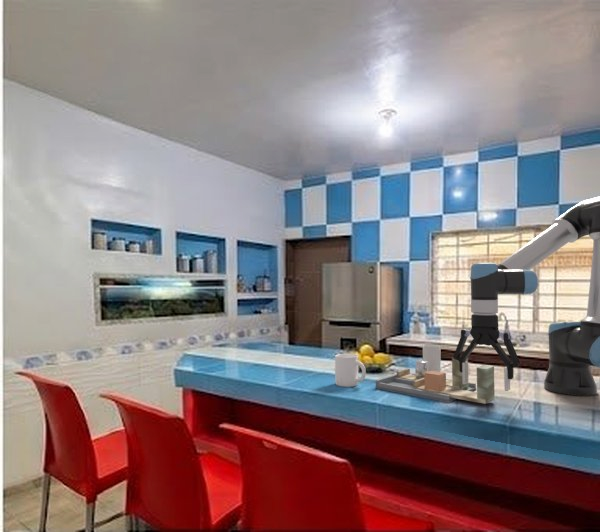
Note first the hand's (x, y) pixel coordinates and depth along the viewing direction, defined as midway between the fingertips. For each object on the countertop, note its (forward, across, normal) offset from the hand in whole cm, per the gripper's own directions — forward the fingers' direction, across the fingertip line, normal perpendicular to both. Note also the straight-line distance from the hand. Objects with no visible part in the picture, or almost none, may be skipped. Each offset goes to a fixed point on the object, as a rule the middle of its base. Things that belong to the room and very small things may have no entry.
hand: (485, 386), depth 129 cm
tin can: (+3, +26, -10) cm, 28 cm away
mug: (+5, +44, +8) cm, 45 cm away
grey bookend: (+5, +29, -26) cm, 40 cm away
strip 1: (+4, +22, -11) cm, 25 cm away
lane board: (+5, +22, -5) cm, 23 cm away
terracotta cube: (+3, +16, 0) cm, 16 cm away
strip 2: (+4, +10, 0) cm, 11 cm away
